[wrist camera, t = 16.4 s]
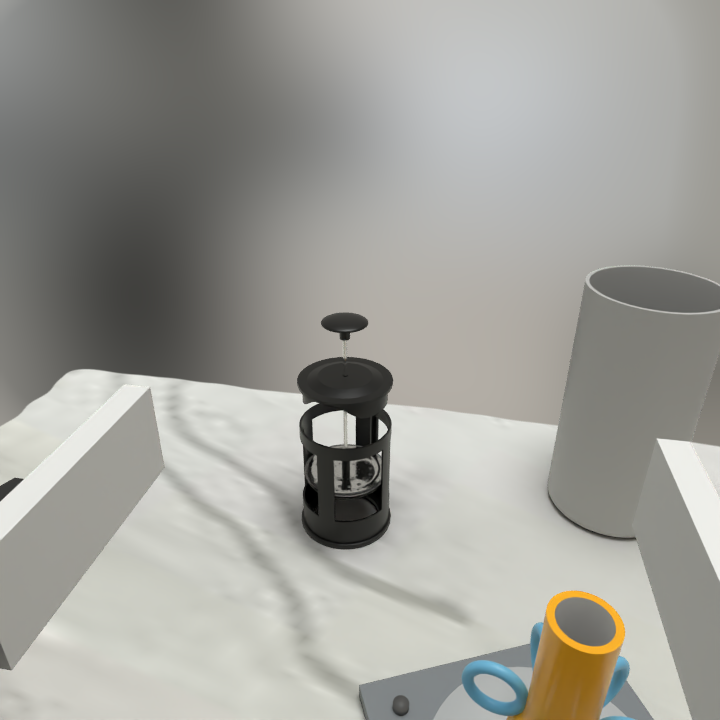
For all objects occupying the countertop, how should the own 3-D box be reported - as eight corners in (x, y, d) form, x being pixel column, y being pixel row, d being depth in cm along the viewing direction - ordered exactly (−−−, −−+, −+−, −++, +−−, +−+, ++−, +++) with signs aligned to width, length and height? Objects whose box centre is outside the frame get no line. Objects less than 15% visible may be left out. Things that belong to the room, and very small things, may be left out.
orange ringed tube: (549, 670, 46) (584, 520, 39) (673, 800, 38) (745, 641, 31) (419, 757, 40) (433, 600, 33) (534, 930, 33) (584, 771, 26)
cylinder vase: (687, 505, 66) (758, 290, 55) (630, 560, 59) (697, 327, 47) (585, 452, 74) (627, 257, 63) (523, 496, 67) (558, 284, 56)
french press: (366, 565, 58) (368, 353, 48) (282, 536, 62) (266, 331, 51) (408, 493, 68) (418, 302, 57) (333, 471, 71) (330, 287, 60)
